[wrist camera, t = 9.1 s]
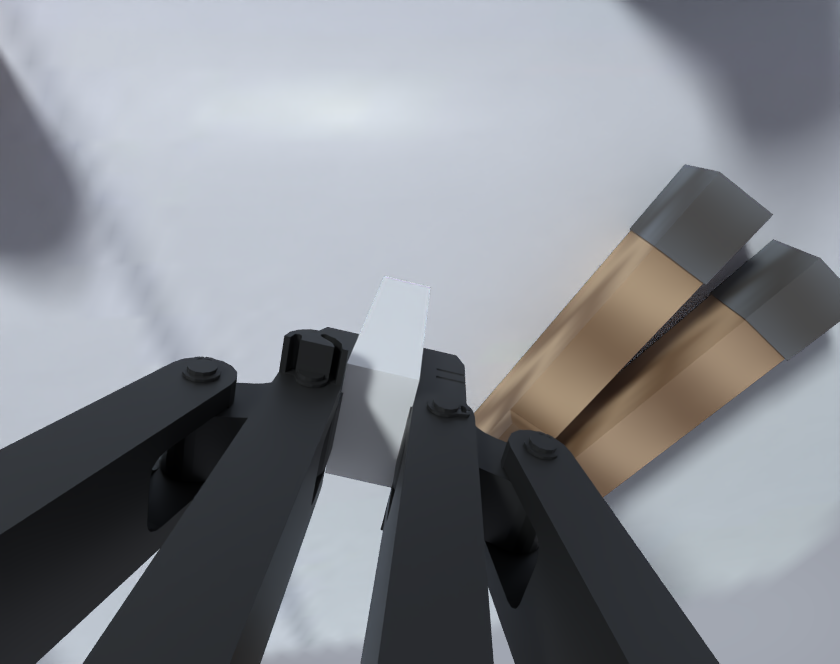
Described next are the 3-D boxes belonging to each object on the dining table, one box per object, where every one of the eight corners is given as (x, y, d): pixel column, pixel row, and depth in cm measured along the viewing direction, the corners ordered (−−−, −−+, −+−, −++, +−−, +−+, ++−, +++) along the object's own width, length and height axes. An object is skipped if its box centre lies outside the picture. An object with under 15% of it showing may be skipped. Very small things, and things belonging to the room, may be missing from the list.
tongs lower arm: (519, 513, 36) (525, 565, 32) (463, 469, 35) (462, 516, 31) (811, 279, 29) (868, 306, 25) (751, 216, 28) (800, 233, 24)
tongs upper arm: (501, 513, 36) (507, 583, 31) (426, 466, 35) (418, 530, 30) (773, 234, 28) (845, 261, 23) (684, 164, 27) (738, 176, 22)
